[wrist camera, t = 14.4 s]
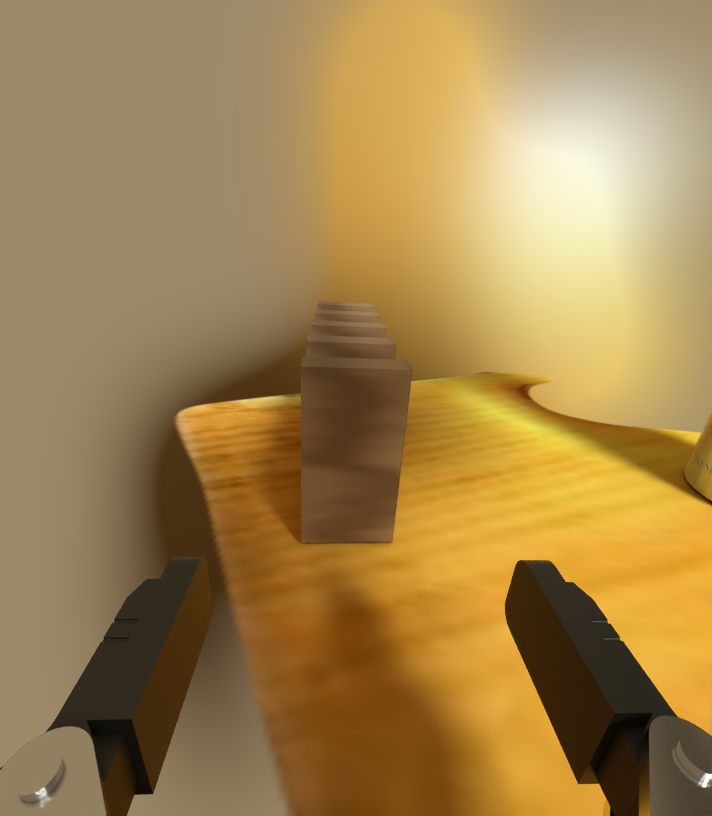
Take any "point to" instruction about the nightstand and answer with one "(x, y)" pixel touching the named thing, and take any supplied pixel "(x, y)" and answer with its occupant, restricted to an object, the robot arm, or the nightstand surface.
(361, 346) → the tile
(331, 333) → the tile
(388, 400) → the loose tile
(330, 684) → the nightstand surface
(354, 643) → the nightstand surface
